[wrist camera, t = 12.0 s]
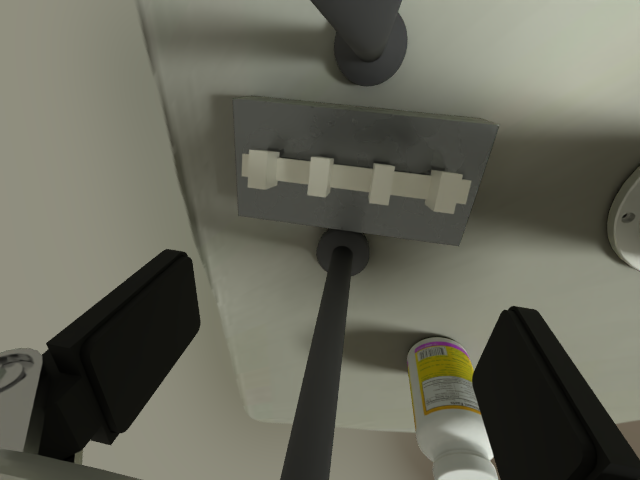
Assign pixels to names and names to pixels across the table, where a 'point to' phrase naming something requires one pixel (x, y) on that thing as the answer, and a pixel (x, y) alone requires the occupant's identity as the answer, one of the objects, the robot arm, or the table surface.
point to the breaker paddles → (356, 179)
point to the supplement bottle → (448, 411)
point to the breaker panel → (360, 163)
